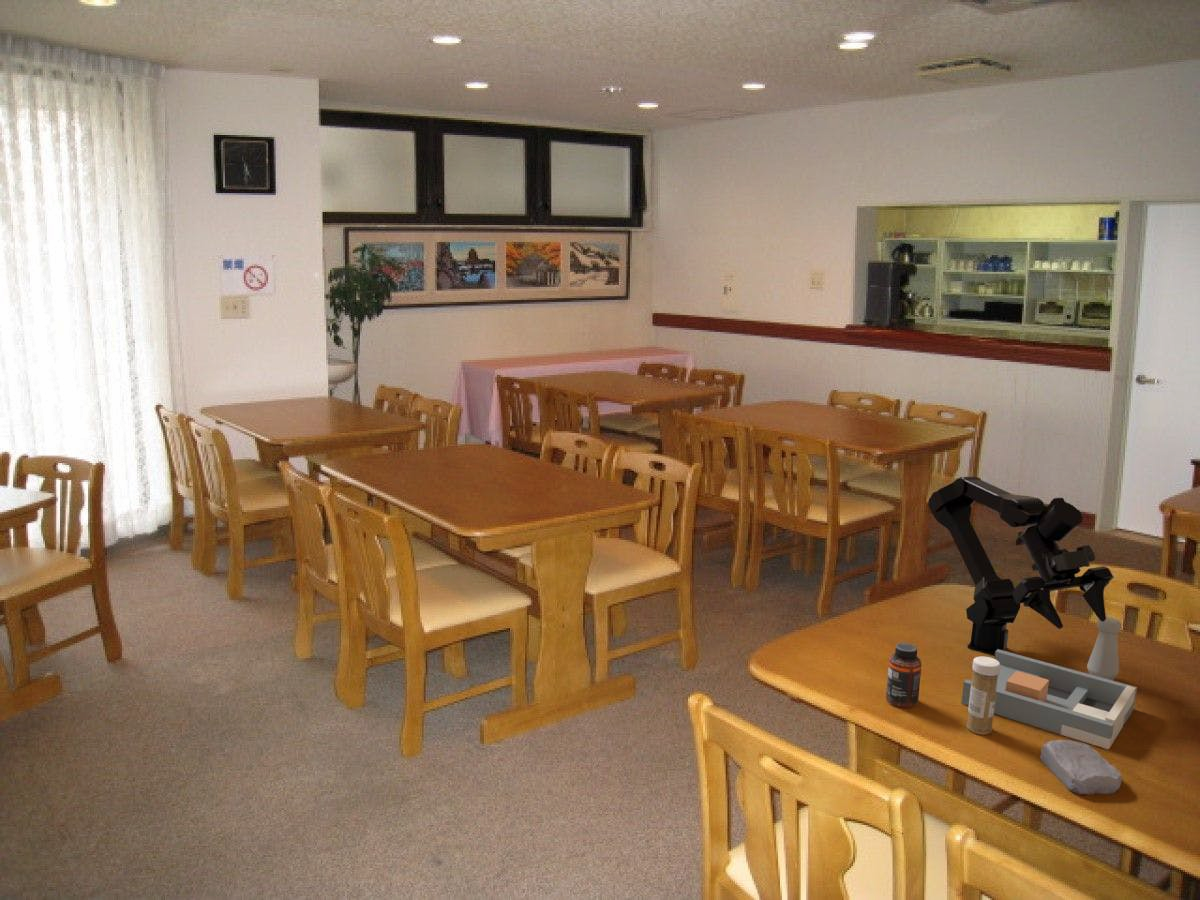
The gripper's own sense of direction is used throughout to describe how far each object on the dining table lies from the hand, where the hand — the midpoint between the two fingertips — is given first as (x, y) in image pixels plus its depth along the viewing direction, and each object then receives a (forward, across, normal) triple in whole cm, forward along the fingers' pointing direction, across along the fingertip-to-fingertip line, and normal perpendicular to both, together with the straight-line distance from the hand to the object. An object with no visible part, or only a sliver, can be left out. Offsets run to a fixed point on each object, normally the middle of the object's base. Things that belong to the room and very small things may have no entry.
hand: (1082, 624), depth 193 cm
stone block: (+28, -18, -5) cm, 33 cm away
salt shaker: (+6, +11, +18) cm, 22 cm away
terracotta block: (+10, -13, +8) cm, 18 cm away
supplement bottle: (+5, -35, +13) cm, 37 cm away
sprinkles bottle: (+14, -26, +6) cm, 30 cm away
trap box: (+11, -8, +11) cm, 17 cm away
